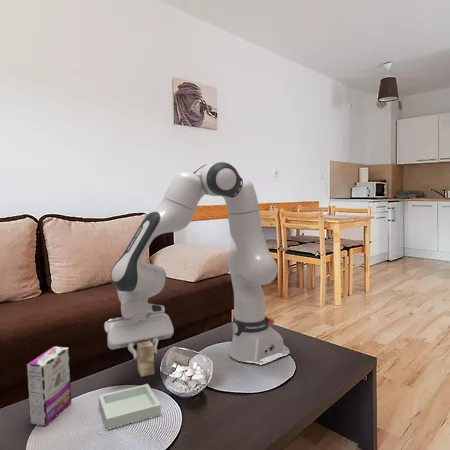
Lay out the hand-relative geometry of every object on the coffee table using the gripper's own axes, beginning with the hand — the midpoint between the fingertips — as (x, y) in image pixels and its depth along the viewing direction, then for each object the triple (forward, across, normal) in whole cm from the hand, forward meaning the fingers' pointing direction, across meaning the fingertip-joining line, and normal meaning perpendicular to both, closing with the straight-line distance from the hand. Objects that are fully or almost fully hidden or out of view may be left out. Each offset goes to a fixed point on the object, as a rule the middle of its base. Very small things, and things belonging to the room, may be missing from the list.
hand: (146, 356), depth 115 cm
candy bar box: (+8, -27, +6) cm, 28 cm away
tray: (+14, -8, 0) cm, 16 cm away
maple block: (+3, 0, +4) cm, 5 cm away
